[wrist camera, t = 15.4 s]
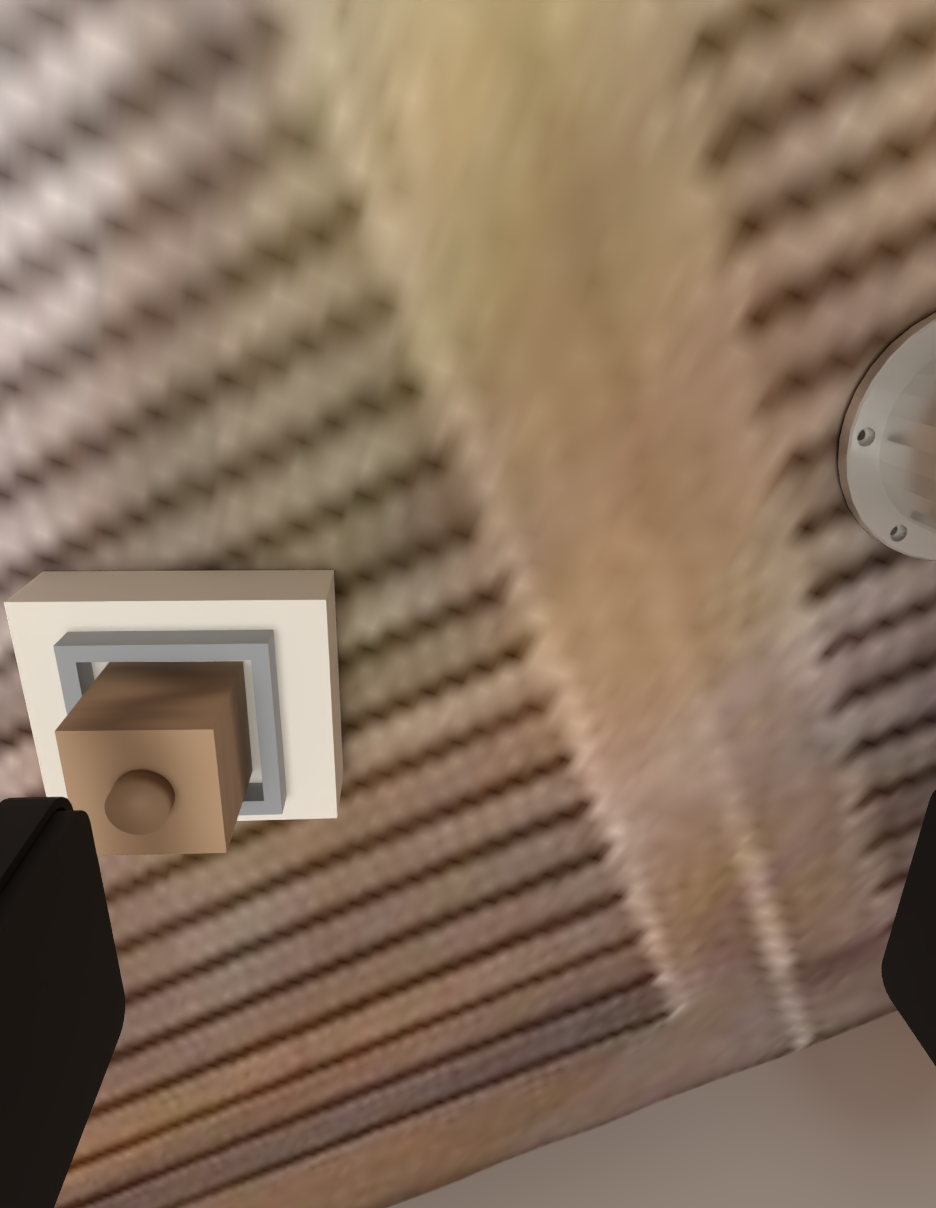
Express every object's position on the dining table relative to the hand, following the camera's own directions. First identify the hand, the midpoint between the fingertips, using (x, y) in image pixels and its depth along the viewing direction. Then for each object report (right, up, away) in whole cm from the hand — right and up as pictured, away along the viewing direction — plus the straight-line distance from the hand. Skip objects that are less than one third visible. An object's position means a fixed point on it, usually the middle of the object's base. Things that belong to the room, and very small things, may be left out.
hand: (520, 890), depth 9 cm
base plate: (-14, -1, +32) cm, 35 cm away
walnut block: (-14, -2, +28) cm, 32 cm away
